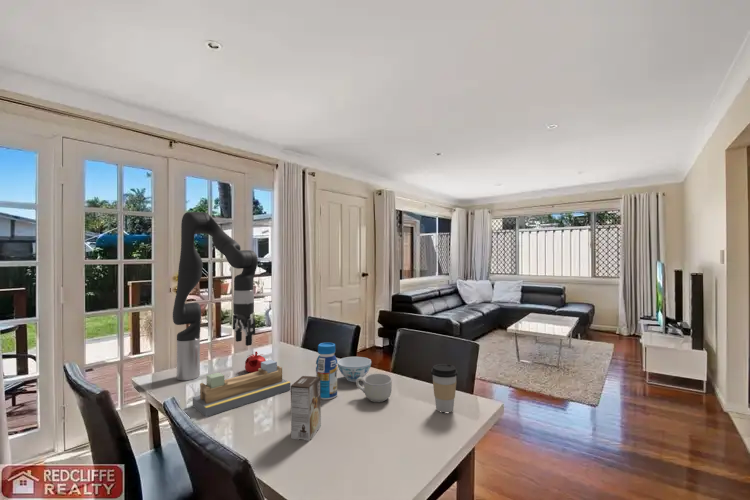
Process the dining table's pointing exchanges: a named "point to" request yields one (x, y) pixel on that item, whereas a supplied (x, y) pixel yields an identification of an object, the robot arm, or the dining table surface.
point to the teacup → (376, 386)
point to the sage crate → (215, 380)
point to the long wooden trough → (240, 385)
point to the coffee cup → (444, 386)
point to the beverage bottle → (327, 370)
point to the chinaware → (354, 367)
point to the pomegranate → (254, 362)
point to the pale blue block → (269, 366)
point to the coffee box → (305, 407)
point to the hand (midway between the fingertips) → (243, 343)
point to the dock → (239, 398)
